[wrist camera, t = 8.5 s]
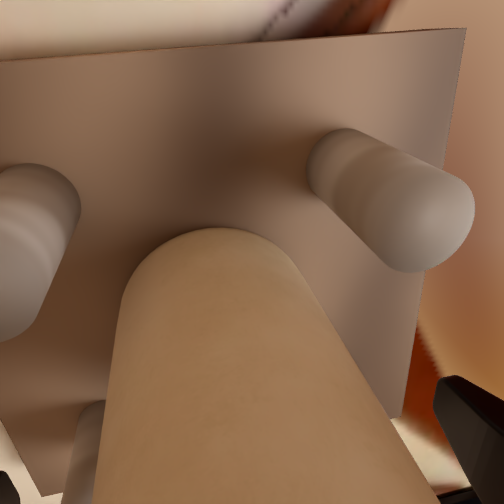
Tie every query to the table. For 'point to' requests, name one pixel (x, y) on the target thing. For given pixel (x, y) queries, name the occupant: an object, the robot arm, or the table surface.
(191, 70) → the peg holder
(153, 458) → the candle
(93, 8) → the table surface
